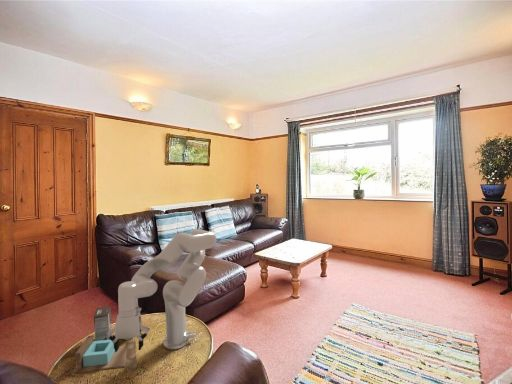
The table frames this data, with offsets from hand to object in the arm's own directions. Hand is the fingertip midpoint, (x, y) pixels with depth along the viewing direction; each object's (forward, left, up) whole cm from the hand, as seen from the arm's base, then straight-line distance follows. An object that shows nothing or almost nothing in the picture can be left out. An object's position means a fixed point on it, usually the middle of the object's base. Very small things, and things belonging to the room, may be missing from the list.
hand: (128, 349), depth 113 cm
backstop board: (+13, -9, -9) cm, 18 cm away
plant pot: (+8, -24, -10) cm, 27 cm away
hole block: (+15, -9, -9) cm, 20 cm away
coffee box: (+19, -22, -10) cm, 31 cm away
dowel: (-1, -1, -9) cm, 9 cm away
